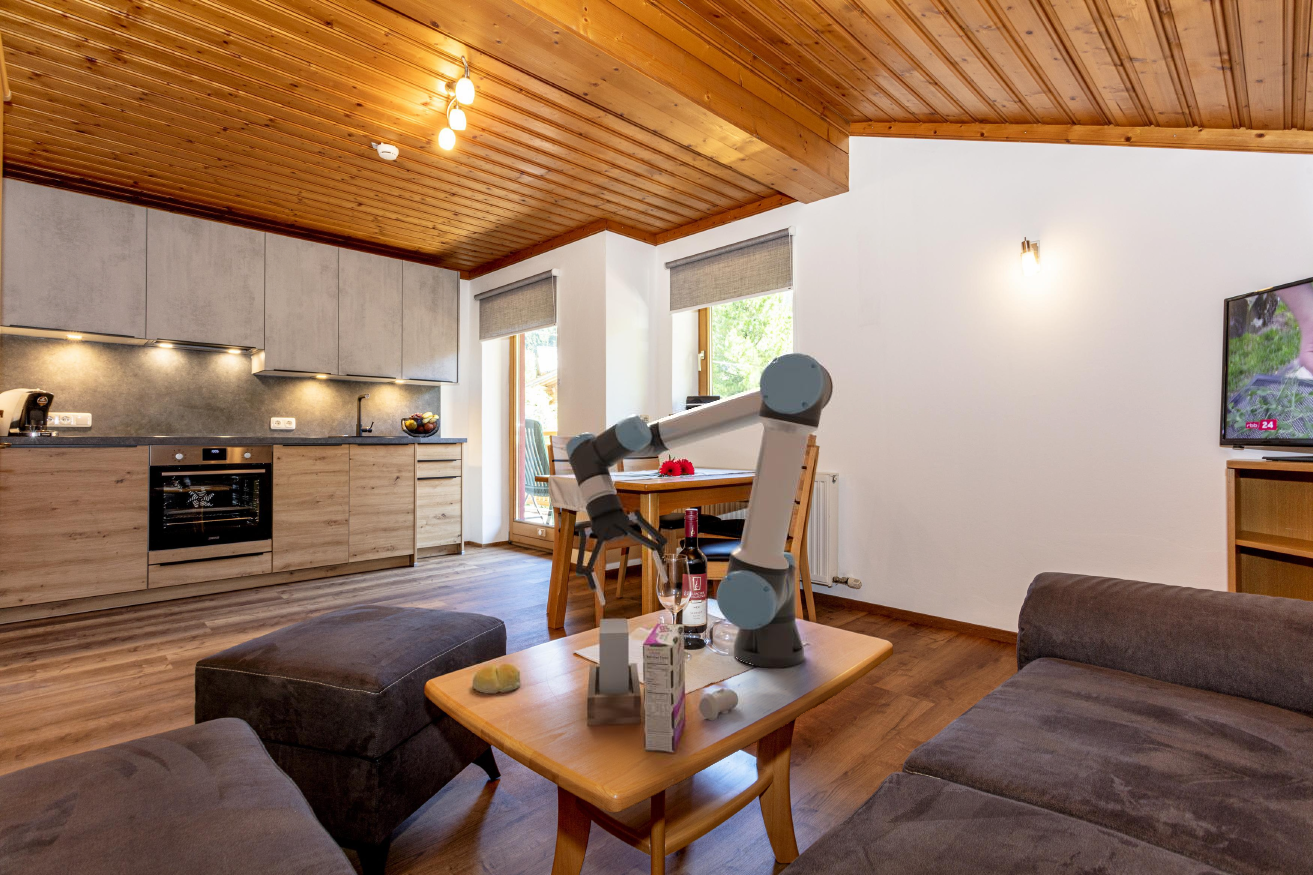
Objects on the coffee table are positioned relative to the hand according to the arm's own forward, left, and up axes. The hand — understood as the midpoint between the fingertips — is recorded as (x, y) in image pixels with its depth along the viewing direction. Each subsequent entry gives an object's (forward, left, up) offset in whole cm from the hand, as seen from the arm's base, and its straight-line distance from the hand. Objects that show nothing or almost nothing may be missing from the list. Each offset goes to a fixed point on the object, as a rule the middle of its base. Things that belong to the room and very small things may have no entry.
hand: (634, 592), depth 130 cm
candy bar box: (-4, +29, -16) cm, 34 cm away
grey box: (+4, +16, -15) cm, 23 cm away
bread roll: (+27, +6, -16) cm, 32 cm away
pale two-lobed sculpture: (-13, +21, -16) cm, 30 cm away
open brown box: (+4, +16, -16) cm, 23 cm away
